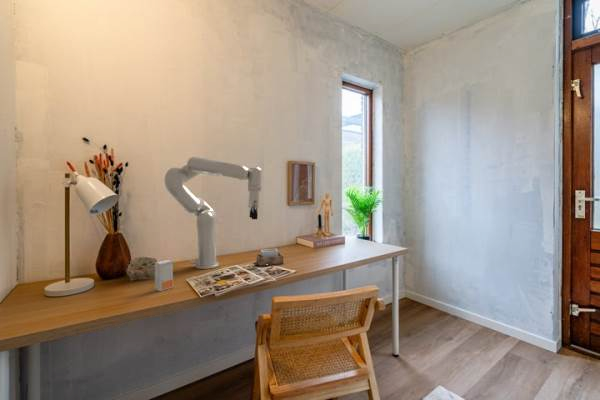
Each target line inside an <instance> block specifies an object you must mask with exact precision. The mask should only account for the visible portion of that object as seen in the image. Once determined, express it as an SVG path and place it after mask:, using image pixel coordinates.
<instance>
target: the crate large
mask: <svg viewBox="0 0 600 400" xmlns="http://www.w3.org/2000/svg"><path fill="white" fill-rule="evenodd" d="M256 263H257V265H258V264H259V265H266V264H268V265H266V266H277V265H283V264H284V255H283V254H281V252H278V256H277V257H265V258H261V253H259V254H256ZM259 265H258V266H259Z"/></svg>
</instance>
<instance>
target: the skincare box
mask: <svg viewBox="0 0 600 400" xmlns="http://www.w3.org/2000/svg"><path fill="white" fill-rule="evenodd" d="M173 263H174V261H173V260H169V259H165V260H162V261H161V260H160V261H157V262H156V263H155V279H154V291H158V292H163V291H166V290H169V289H173V288H174V264H173Z"/></svg>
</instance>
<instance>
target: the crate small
mask: <svg viewBox="0 0 600 400" xmlns="http://www.w3.org/2000/svg"><path fill="white" fill-rule="evenodd" d="M278 253H279V250H278V249H277V248H267V249H266V248H264V249H260V254H261V258H265V257H277V256H278Z"/></svg>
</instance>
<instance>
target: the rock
mask: <svg viewBox="0 0 600 400" xmlns="http://www.w3.org/2000/svg"><path fill="white" fill-rule="evenodd" d="M129 262H130V264H129V265H128V264H127V265H128V268H127V267H126V270H125V273H126V275H127V276H128V277H129V279H130V281H132V282H133V281H135V280H138V281H139V280H140V281H141V280H155V263H156V262H158V260H157V258H154V257H147V256H138V257H134V258H133V259H132V260H131V261H129Z"/></svg>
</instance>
